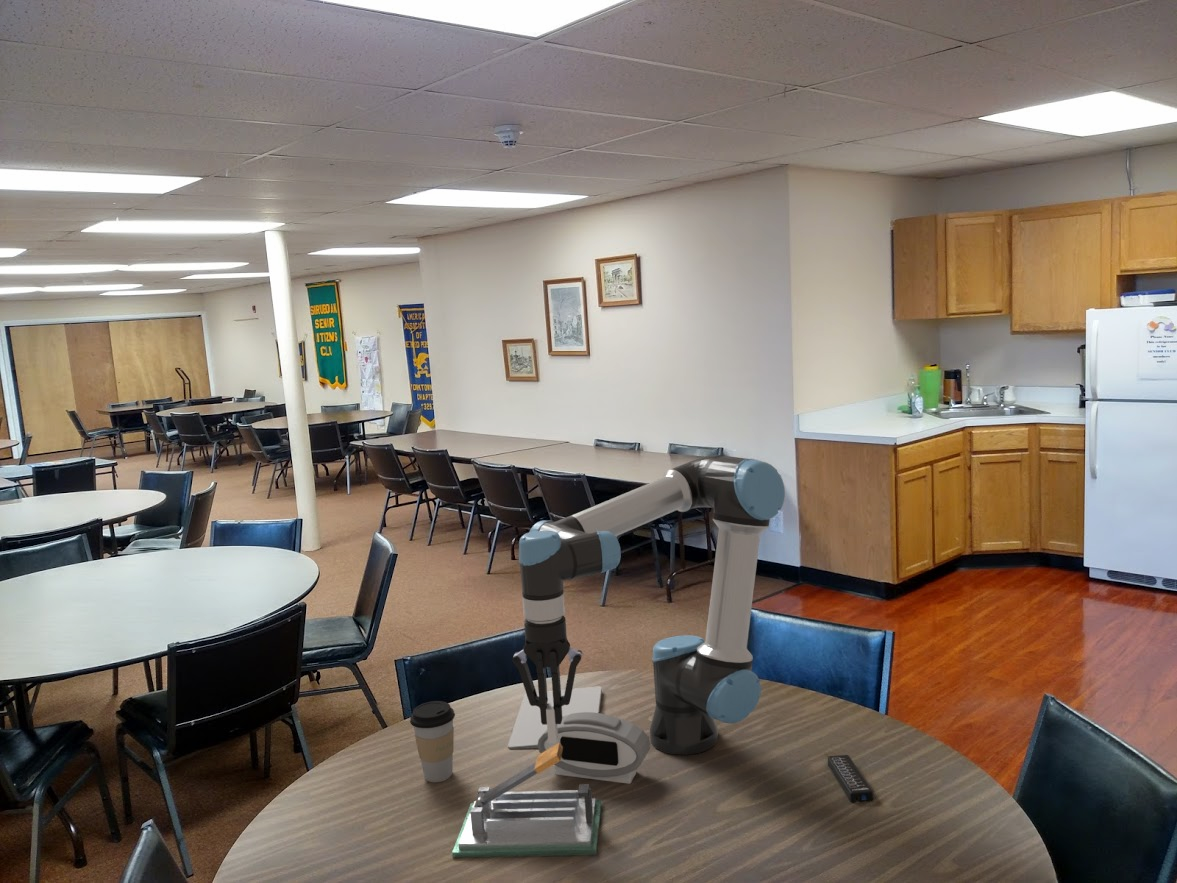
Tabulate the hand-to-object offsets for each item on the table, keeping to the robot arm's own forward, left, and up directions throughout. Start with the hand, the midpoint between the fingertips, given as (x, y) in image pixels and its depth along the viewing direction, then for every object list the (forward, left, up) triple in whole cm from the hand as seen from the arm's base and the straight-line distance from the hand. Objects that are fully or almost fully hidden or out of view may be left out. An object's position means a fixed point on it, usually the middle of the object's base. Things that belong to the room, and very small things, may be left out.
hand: (553, 739), depth 159 cm
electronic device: (+6, -46, -19) cm, 50 cm away
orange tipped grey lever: (+7, 0, -8) cm, 11 cm away
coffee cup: (+29, -21, -18) cm, 40 cm away
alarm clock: (-5, -20, -18) cm, 28 cm away
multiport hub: (-56, -14, -19) cm, 61 cm away
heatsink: (+6, 0, -18) cm, 19 cm away
